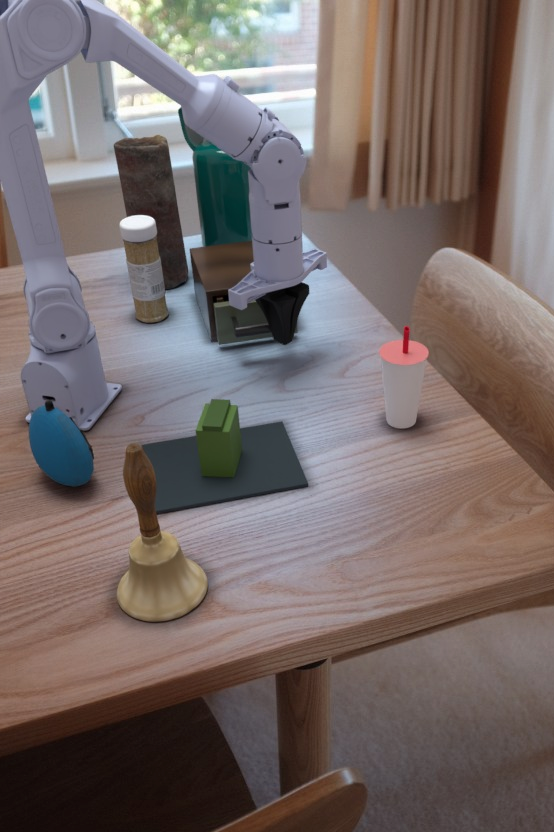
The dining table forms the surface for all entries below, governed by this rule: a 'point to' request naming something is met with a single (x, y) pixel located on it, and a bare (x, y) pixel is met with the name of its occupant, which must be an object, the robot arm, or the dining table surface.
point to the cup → (402, 379)
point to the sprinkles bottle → (144, 267)
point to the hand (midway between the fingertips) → (283, 340)
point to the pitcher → (219, 191)
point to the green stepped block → (219, 439)
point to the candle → (154, 198)
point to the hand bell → (155, 555)
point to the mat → (255, 475)
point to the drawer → (239, 321)
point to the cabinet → (218, 275)
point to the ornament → (60, 446)
